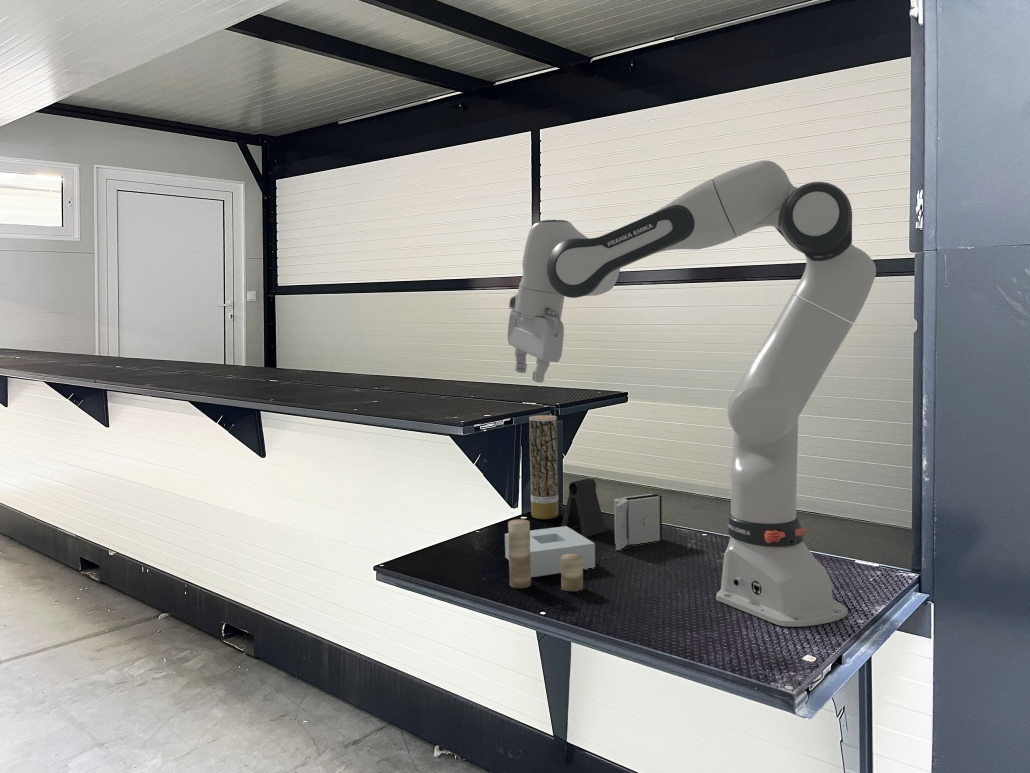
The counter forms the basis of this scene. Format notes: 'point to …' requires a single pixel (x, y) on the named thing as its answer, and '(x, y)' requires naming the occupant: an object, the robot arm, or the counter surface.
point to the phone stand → (583, 509)
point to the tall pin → (519, 553)
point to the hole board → (555, 549)
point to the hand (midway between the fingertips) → (528, 376)
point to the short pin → (571, 572)
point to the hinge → (637, 519)
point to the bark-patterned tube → (543, 466)
